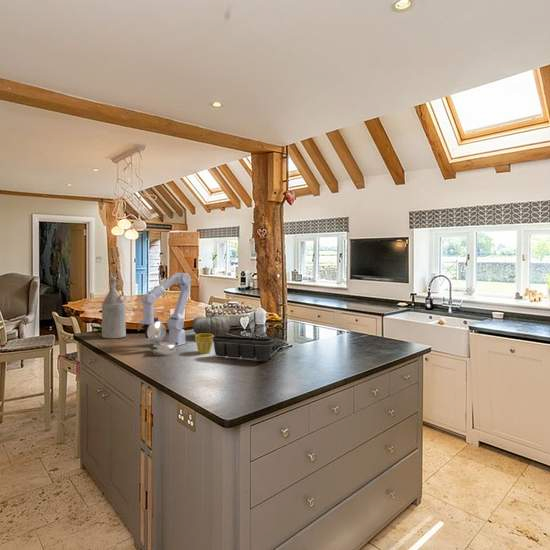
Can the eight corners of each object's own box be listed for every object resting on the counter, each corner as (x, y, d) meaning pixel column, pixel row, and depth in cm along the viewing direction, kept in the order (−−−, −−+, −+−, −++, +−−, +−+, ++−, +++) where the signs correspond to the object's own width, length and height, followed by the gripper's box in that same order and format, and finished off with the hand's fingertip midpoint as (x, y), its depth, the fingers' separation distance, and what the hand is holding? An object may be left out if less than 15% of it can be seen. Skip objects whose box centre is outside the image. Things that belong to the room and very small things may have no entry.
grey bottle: (117, 339, 251) (118, 277, 249) (96, 337, 257) (96, 276, 255) (131, 336, 263) (131, 276, 261) (111, 334, 269) (111, 276, 267)
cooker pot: (169, 348, 230) (170, 340, 229) (183, 352, 223) (183, 343, 222) (144, 354, 216) (144, 345, 216) (158, 357, 209) (158, 348, 209)
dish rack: (208, 358, 210) (209, 336, 209) (239, 342, 252) (239, 323, 252) (269, 365, 200) (269, 341, 200) (290, 346, 243) (291, 327, 242)
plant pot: (209, 355, 217) (209, 337, 217) (192, 353, 219) (192, 336, 219) (216, 350, 227) (216, 334, 227) (199, 349, 229) (199, 333, 229)
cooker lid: (166, 341, 227) (165, 340, 228) (165, 316, 228) (164, 316, 228) (148, 344, 218) (147, 344, 218) (147, 318, 218) (146, 318, 218)
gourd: (221, 338, 249) (218, 311, 251) (186, 341, 256) (184, 315, 258) (236, 335, 273) (234, 310, 274) (204, 338, 280) (202, 314, 281)
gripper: (134, 313, 228) (134, 337, 229) (149, 316, 220) (149, 340, 220) (145, 312, 234) (145, 335, 235) (160, 315, 225) (160, 338, 226)
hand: (148, 337), depth 228 cm, fingers closed
